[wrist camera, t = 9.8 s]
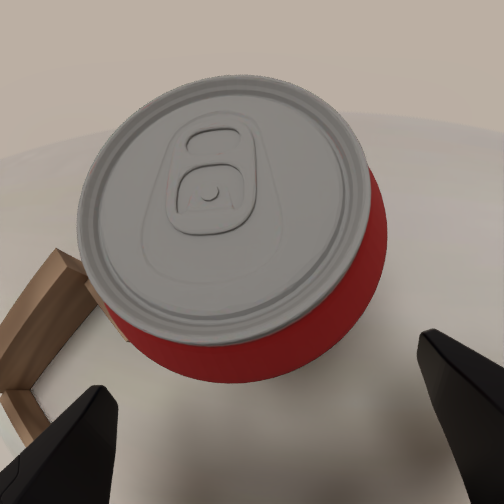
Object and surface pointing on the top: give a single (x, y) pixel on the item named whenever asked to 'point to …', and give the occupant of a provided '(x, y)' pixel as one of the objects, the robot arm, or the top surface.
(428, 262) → the top surface
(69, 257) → the can cradle
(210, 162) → the beverage can
